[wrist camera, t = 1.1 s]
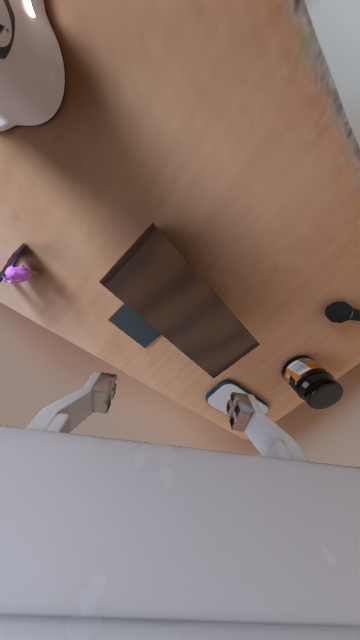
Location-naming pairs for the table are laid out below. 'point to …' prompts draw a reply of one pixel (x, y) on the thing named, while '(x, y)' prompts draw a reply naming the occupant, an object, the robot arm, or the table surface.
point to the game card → (15, 269)
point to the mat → (134, 325)
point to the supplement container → (312, 382)
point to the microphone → (341, 312)
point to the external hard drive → (228, 396)
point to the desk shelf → (178, 303)
